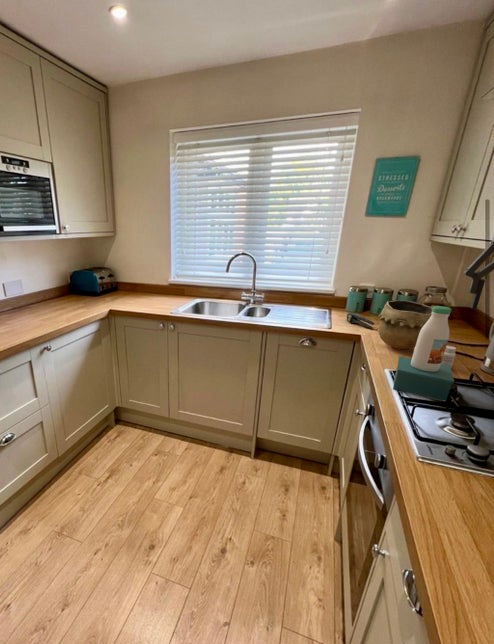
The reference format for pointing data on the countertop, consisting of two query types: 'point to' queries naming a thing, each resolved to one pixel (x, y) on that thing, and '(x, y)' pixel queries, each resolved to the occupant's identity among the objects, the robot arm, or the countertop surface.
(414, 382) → the storage box
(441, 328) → the milk bottle
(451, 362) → the pill bottle
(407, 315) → the clay pot
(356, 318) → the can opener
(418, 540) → the countertop surface
